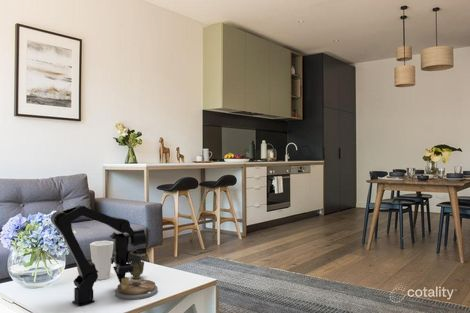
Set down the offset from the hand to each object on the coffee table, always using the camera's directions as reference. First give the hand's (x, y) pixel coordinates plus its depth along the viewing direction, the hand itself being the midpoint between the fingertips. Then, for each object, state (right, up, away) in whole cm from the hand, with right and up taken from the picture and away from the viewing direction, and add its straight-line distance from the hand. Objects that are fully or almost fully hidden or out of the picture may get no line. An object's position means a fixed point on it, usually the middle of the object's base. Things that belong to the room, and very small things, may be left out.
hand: (121, 283), depth 173 cm
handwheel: (+6, -3, +2) cm, 7 cm away
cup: (-16, -5, +24) cm, 30 cm away
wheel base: (+6, -5, +2) cm, 8 cm away
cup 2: (+1, -5, +23) cm, 24 cm away
